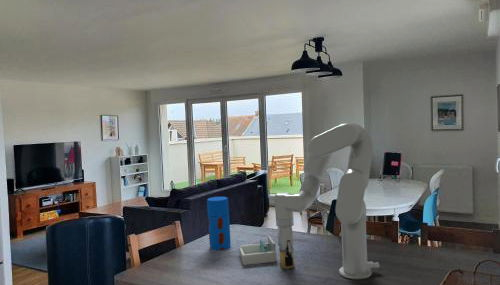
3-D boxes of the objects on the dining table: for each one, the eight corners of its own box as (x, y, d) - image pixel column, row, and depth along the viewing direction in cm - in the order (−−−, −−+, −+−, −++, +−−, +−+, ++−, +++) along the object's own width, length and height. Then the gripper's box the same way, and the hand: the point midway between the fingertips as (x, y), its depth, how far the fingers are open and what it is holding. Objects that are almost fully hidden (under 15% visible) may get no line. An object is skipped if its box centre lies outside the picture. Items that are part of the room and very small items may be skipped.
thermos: (211, 251, 192) (208, 201, 190) (208, 245, 202) (205, 198, 201) (233, 248, 194) (230, 199, 193) (228, 242, 205) (225, 195, 204)
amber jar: (292, 262, 170) (291, 244, 170) (296, 267, 164) (295, 249, 164) (278, 264, 169) (277, 246, 169) (282, 269, 163) (281, 250, 163)
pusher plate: (263, 250, 185) (262, 239, 184) (267, 258, 174) (267, 246, 174) (260, 251, 185) (259, 239, 184) (264, 258, 174) (264, 246, 173)
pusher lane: (270, 251, 187) (269, 235, 186) (276, 261, 173) (275, 244, 173) (239, 254, 185) (238, 238, 184) (243, 265, 171) (242, 247, 170)
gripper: (272, 217, 174) (274, 257, 174) (280, 227, 157) (283, 271, 157) (288, 216, 175) (290, 255, 176) (298, 225, 158) (301, 269, 158)
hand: (287, 262), depth 166 cm, fingers closed on amber jar, 6 cm apart
